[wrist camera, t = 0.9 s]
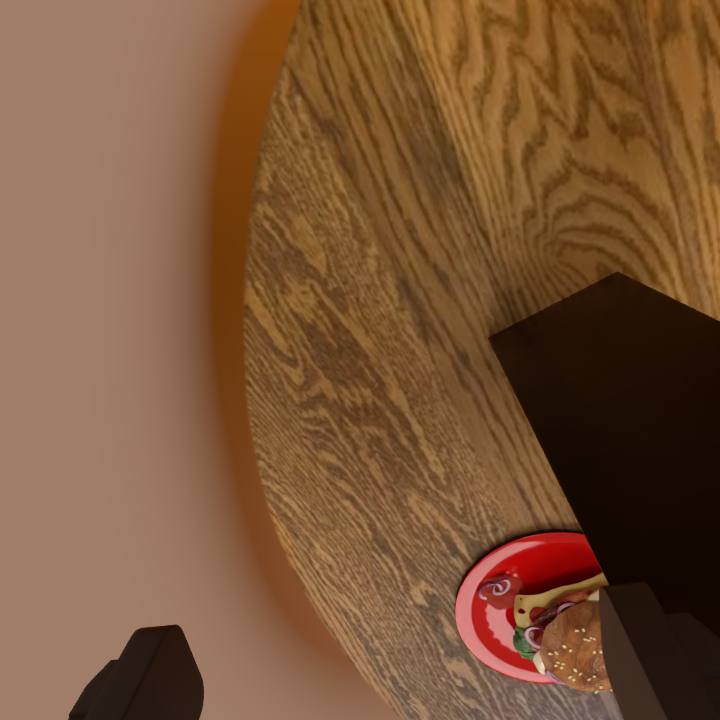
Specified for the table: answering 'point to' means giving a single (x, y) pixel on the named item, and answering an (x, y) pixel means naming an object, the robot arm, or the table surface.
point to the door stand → (630, 431)
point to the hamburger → (537, 611)
